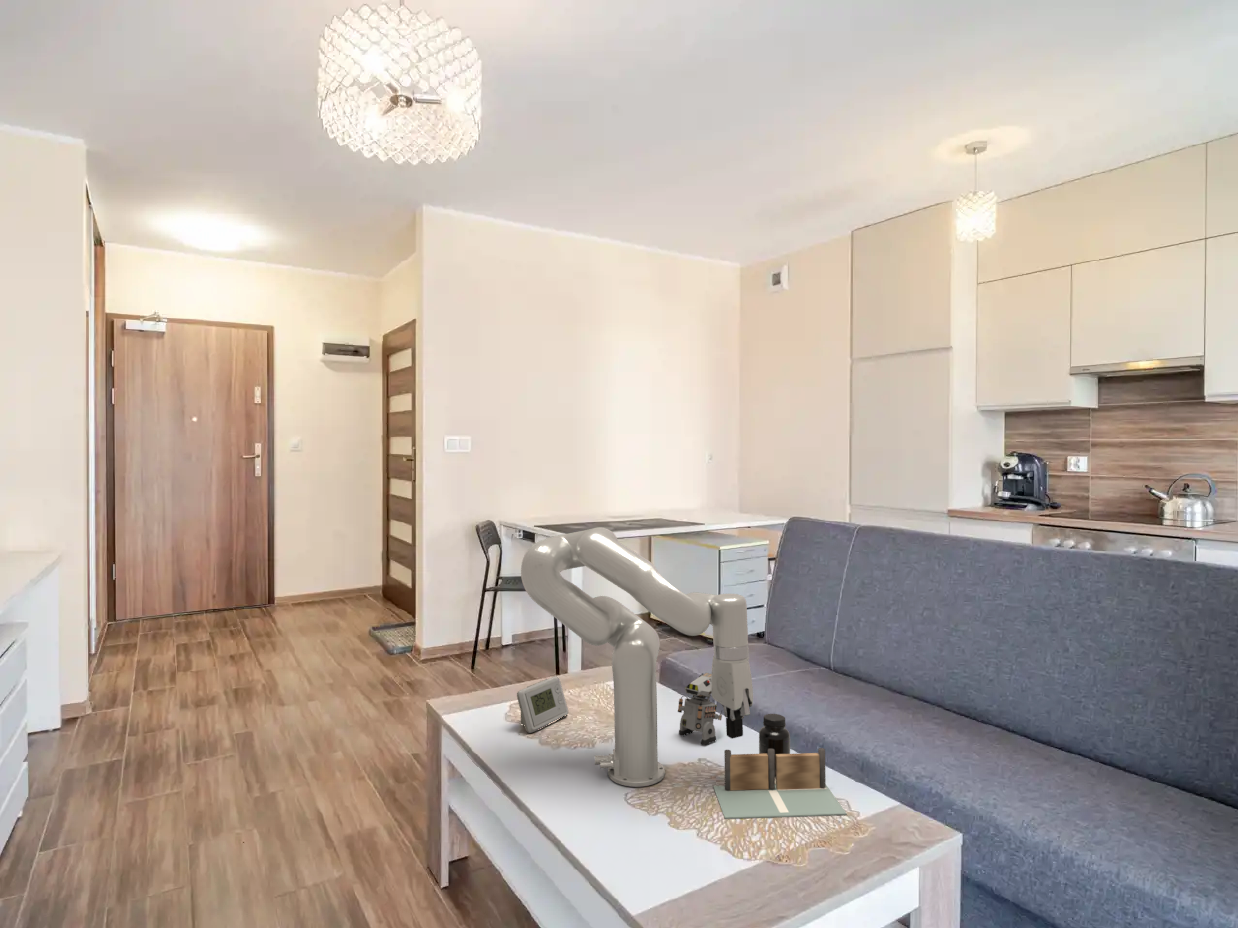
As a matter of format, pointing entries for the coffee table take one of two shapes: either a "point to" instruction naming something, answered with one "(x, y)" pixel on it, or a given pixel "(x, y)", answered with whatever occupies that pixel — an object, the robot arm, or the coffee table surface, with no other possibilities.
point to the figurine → (699, 710)
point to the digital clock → (542, 704)
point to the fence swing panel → (749, 771)
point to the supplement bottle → (774, 736)
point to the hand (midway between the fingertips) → (734, 735)
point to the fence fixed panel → (801, 770)
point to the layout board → (777, 803)
